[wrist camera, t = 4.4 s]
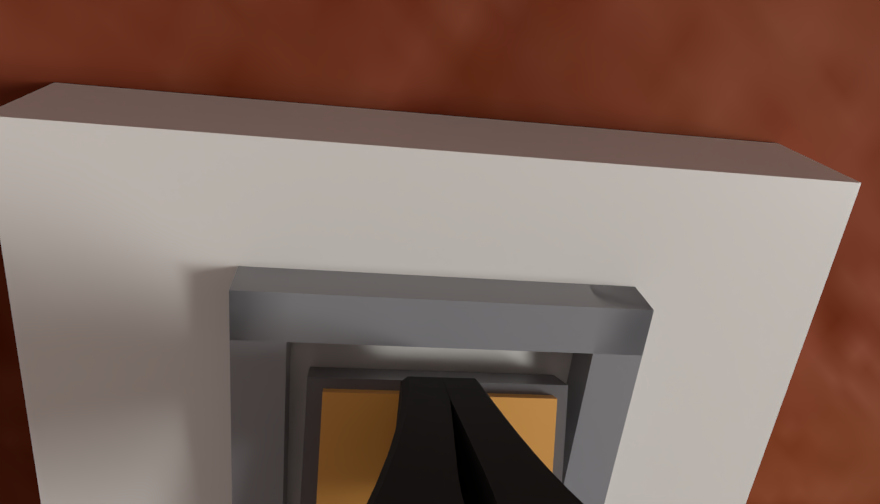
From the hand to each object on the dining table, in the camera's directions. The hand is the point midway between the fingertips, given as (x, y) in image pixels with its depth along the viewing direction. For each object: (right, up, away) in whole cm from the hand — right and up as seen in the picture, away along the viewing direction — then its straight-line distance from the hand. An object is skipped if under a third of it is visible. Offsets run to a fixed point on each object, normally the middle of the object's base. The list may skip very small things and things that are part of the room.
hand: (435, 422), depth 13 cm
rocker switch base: (-1, -2, +6) cm, 7 cm away
